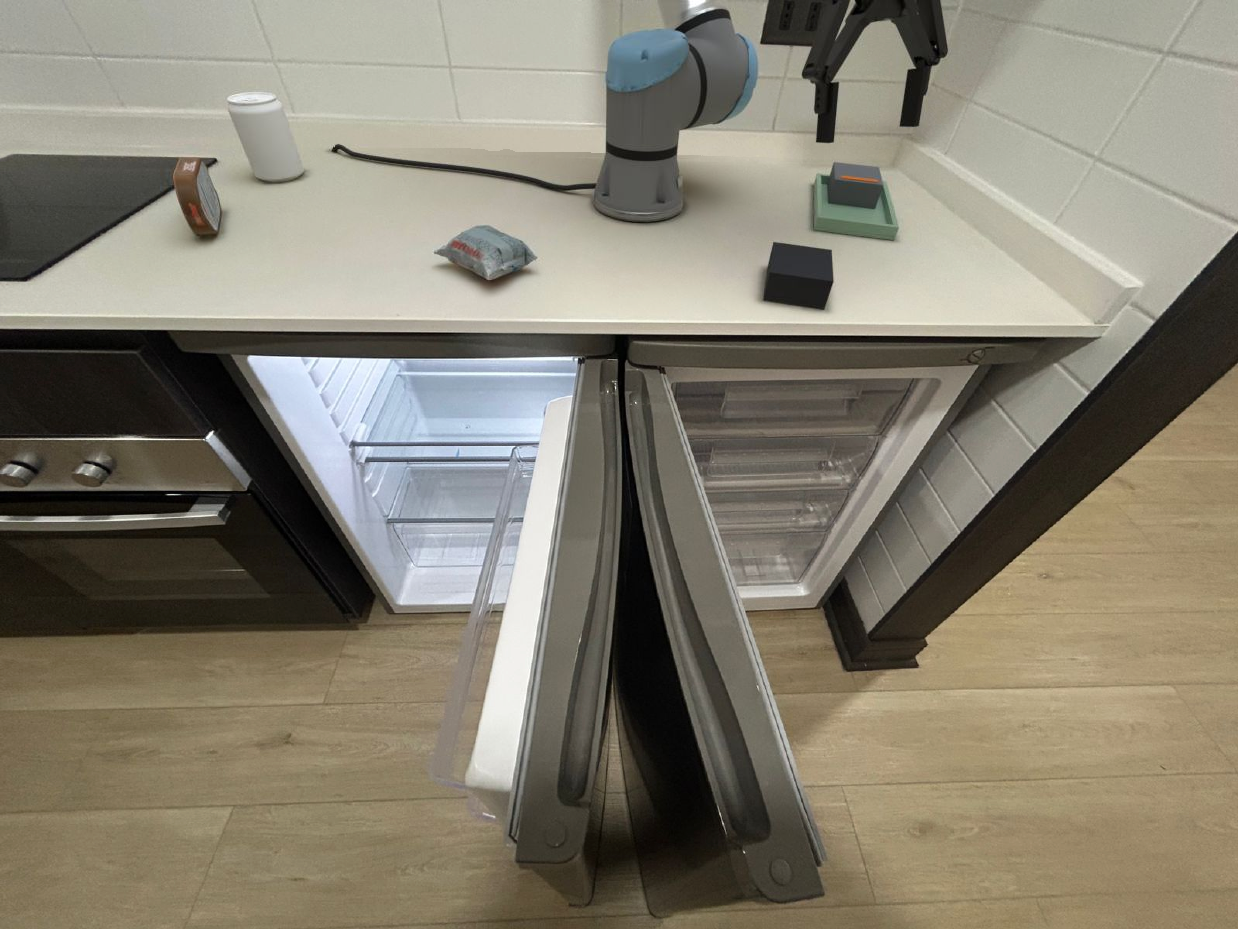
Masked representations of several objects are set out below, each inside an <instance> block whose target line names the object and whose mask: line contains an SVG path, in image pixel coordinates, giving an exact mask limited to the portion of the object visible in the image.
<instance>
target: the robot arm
mask: <svg viewBox="0 0 1238 929" xmlns="http://www.w3.org/2000/svg"><path fill="white" fill-rule="evenodd" d="M655 3H656V7H657V10H658V14H659V16H660V20H661V24H662V27H663V28H654V29H651V30H649V29H642V30H637V31H632V32H629V33H626V34H623V35H621V36H619V37H618V38H616V39H615V40H614V41H613V42H612V43H611V44H610V46H609V48H608V49H609V50H608V53H607V62H606V72H605V75H604V78H605V85H606V87H605V88H606V89H605V91H606V92H605V93H606V95H605V96H606V97H605V99H606V100H605V102H606V103H605V105H606V106H605V152H604V158H603V160H602V163H601V164H602V165H601V167H600V171H599V174H598V177H597V181H596V182H591V183H589V182H588V183H586V182H585V183H575V184H556V183H552V182H549V181H545V180H542V179H539V178H536V177H532V176H528V175H523V174H518V173H512V172H508V171H502V170H496V169H489V168H483V167H474V166H466V165H459V164H449V163H448V164H447V163H440V162H439V163H438V162H431V161H430V162H429V161H419V160H409V159H403V158H402V159H401V158H395V157H394V158H393V157H386V156H379V155H373V154H366V153H361V152H357V151H353V150H351V149H349V148H348V147H346V146H344V145H343V144H341V143H336V144H334V145H335V147H334V145H333V146H332V149H331V153H337V152H338V151H340V150H341V151H342V152H343V153H345V154H347V155H348V156H350V157H353V158H357V159H362V160H367V161H372V162H378V163H379V162H380V163H387V164H393V165H399V166H401V165H402V166H410V167H419V168H428V169H438V170H449V171H455V172H456V171H459V172H464V173H465V172H466V173H473V174H475V173H476V174H482V175H488V176H489V175H490V176H495V177H501V178H507V179H512V180H518V181H523V182H527V183H531V184H535V185H538V186H541V187H544V188H546V189H547V188H548V189H551V190H555V191H561V192H570V191H578V190H594V193H593V204H594V207H595V208H596V209H597V210H598V211H599V212H600V213H602V214H603V215H606V216H608V217H610V218H613V219H617V220H622V221H627V222H634V223H635V222H636V223H644V222H645V223H650V222H658V221H659V222H660V221H664V220H668V219H671V218H674V217H675V216H677V215H679V214H680V213H681V211H682V210H683V207H684V189H683V183H684V181H683V175H682V174H683V173H680V169H679V168H680V167H679V162H678V149H679V140H680V139H679V138H680V132H681V131H684V130H689V129H695V128H699V127H703V126H704V127H705V126H708V125H720V124H722V123H724V122H725V121H728V120H731V119H733V118H735V117H737V116H738V115H740V114H741V113H742V112H743V111H744V110H745V108H747V106H748V104H749V103H750V101H751V99H752V97H753V92H754V90H755V88H756V86H757V83H758V78H759V77H758V76H759V59H758V54H757V50H756V48H755V45H754V44H753V42H752V41H751V40H750V39H749V38H748V37H746V36H745V35H743V34H741V33H739V32H738V33H736V31H735V28H734V24H733V20H732V18H731V17H732V16H731V14H730V11H729V9H728V7H726V6H724V5H721V4H719V3H717V0H655ZM850 3H851V0H828V3H827V6H826V9H825V12H824V13H823V16H822V19H821V21H820V24H819V27H818V30H817V32H816V35H815V37H814V39H813V42H812V45H811V48H810V49H809V53H808V55H807V58H806V61H805V62H804V66H803V67H802V71H801V77H802V79H803V80H808V81H809V82H810V84H812V85H814V86H815V89H814V102H813V103H814V104H813V112H814V114H815V115H817V121H816V122H817V123H816V134H815V143H817V144H818V143H820V144H832V143H835V133H836V125H837V124H836V122H837V112H838V102H839V100H838V99H839V88H840V81H834V79H835V77H836V76H837V74H838V72H839V71H840V69H841V68H842V66H843V64H844V63H845V61H846V59H847V58H848V57H849V55H850V53H851V51H852V50H853V48H854V47H855V45H856V43H857V42H858V40H859V38H860V37H861V35H862V33H863V32H864V30H865V29H866V28H867V27H868V26H870V25H871V24H872V23H878V22H880V23H881V22H887V21H890V23H892V24H894V25H895V28H896V29H897V31H898V33H899V36H900V38H901V40H902V43H903V44H904V47H905V49H906V51H907V53H908V56H909V58H910V60H911V62H912V64H913V66H914V68H909V69H907V72H906V78H905V86H904V92H903V100H902V106H901V114H900V119H899V120H900V121H899V125H898V126H899V127H900V128H916V127H920V121H921V115H922V109H923V102H924V98H925V96H926V95H927V93H928V91H929V90H928V89H929V85H930V79H931V72H932V67H936V66H938V65H939V64H940V62H941V59H944V58H946V57H947V55H948V53H949V47H948V40H947V33H946V26H945V20H944V14H943V8H942V1H941V0H854V4H853V7H852V8H851V9H850V12H849V13H848V15H847V12H848V9H849V6H850ZM846 15H847V17H846ZM845 17H846V18H845ZM843 22H844V25H843V27H842V24H843ZM841 27H842V28H841ZM840 29H841V30H840Z"/></svg>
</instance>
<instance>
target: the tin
mask: <svg viewBox="0 0 1238 929" xmlns="http://www.w3.org/2000/svg"><path fill="white" fill-rule="evenodd" d="M172 179H173V185H174V186H173V187H174V191H175V194H176V198H177V201H178V204H179V206H180V210H181V211H182V214H183V216H184V219H185V221H186V223H187V224H188V227H189V228H190V230H191V231H192V233H193V234H194V235H195V237H201V236H213V235H217V234H219V230H220V224H221V218H222V206H221V202H220V198H219V197H220V196H219V194H218V192H217V190H216V188H215V186H214V184H213V181H212V178H211V175H210V173H209V169H208V166H207V164H206V162H205V161H204V160H203V159H202V158H200V157H183V156H180V157H179V158H178V161H177V163H176V166H175V169H174V170H173V174H172Z"/></svg>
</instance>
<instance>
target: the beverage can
mask: <svg viewBox="0 0 1238 929" xmlns="http://www.w3.org/2000/svg"><path fill="white" fill-rule="evenodd" d="M226 100H227V111H228V114H229V117H230V119H231V121H232V124H233V127H234V129H235V131H236V133H237V136H238V138H239V141H240V143H241V145H242V149H243V150H244V154H245V156H246V158H247V161H248V163H249V165H250V168H251V171H252V173H253V175H254V177H255V178H257V179H259V180H263V181H264V182H268V183H269V182H271V183H282V182H288V181H292V180H295V179H297V178H298V177H300V176H301V175H302V174H303V173H304V172H305V168H304V165H303V161H302V159H301V156H300V152H299V150H298V147H297V144H296V141H295V139H294V135H293V133H292V130H291V127H290V124H289V121H288V118H287V116H286V113H285V112H286V111H285V110H284V107H283V104H282V103H281V102H280V101H279V100H278V99H277V96H276V94H274V93H272V92H265V91H264V92H263V91H248V92H247V91H246V92H241V93H236V94H232V95H229V96H228V97H227V98H226Z"/></svg>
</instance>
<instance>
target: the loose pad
mask: <svg viewBox="0 0 1238 929" xmlns="http://www.w3.org/2000/svg"><path fill="white" fill-rule="evenodd" d="M833 263H834V262H833V250H832V249H829V248H822V247H814V246H806V245H800V244H793V243H784V242H778V241H773V242H772V246H771V250H770V255H769V258H768V263H767V267H766V273H765V282H764V288H763V298H762V300H763V301H764V302H770V303H777V304H785V305H790V306H791V305H792V306H797V307H805V308H810V309H817V310H825V309H826V306H827V303H828V300H829V298H830V297H829V296H830V294H831V291H832V287H833V285H834V282H835V280H834V264H833Z"/></svg>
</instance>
